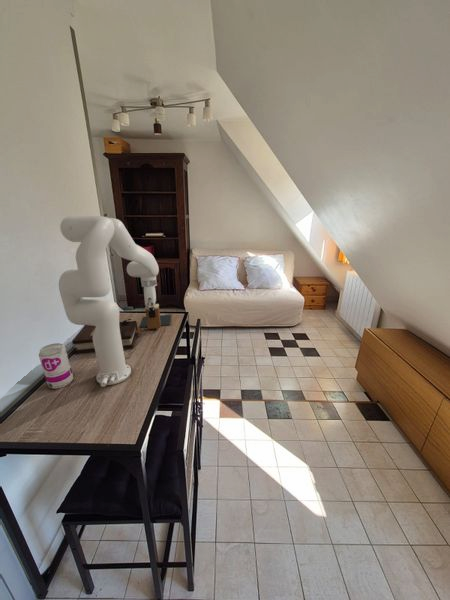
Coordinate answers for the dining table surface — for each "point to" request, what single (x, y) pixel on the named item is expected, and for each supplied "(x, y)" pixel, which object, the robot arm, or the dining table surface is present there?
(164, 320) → the slate mat
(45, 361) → the supplement can
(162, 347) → the dining table surface
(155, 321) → the cardboard box
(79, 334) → the decorative book
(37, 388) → the dining table surface
